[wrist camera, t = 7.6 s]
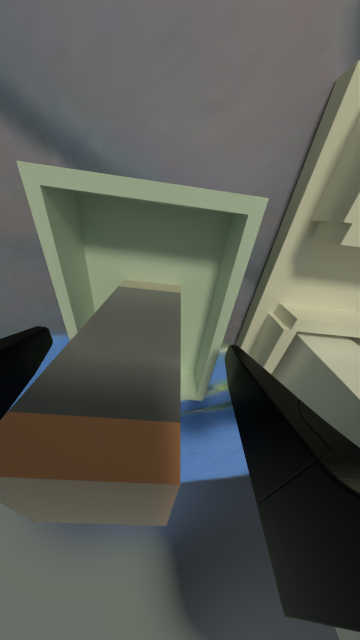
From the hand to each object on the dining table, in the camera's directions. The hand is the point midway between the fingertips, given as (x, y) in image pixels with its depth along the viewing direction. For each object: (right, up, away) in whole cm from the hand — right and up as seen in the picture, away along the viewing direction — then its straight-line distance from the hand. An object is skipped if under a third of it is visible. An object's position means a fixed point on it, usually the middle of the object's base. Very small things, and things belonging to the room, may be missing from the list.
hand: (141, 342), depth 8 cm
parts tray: (0, +2, +4) cm, 4 cm away
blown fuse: (0, +2, +3) cm, 4 cm away
